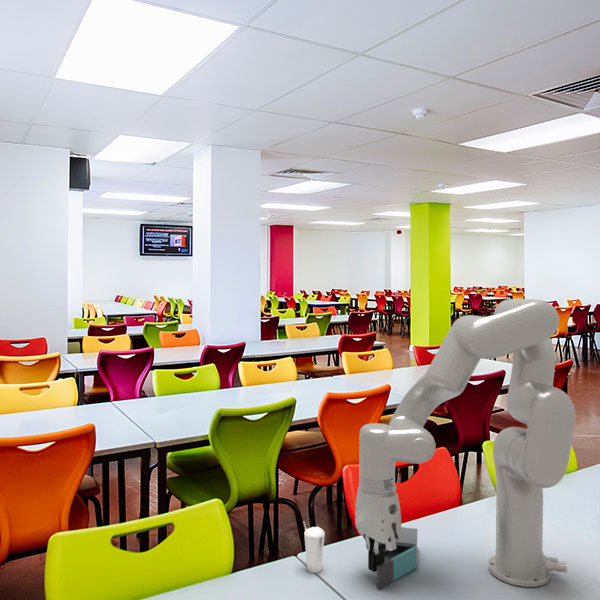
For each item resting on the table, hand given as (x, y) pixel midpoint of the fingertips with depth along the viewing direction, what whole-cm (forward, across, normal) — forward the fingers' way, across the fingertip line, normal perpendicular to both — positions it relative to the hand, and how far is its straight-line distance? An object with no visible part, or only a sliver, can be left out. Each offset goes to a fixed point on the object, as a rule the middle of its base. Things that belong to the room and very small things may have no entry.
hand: (376, 568), depth 117 cm
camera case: (+3, +5, -12) cm, 13 cm away
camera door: (+2, -2, -5) cm, 6 cm away
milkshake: (+3, +12, +8) cm, 15 cm away
